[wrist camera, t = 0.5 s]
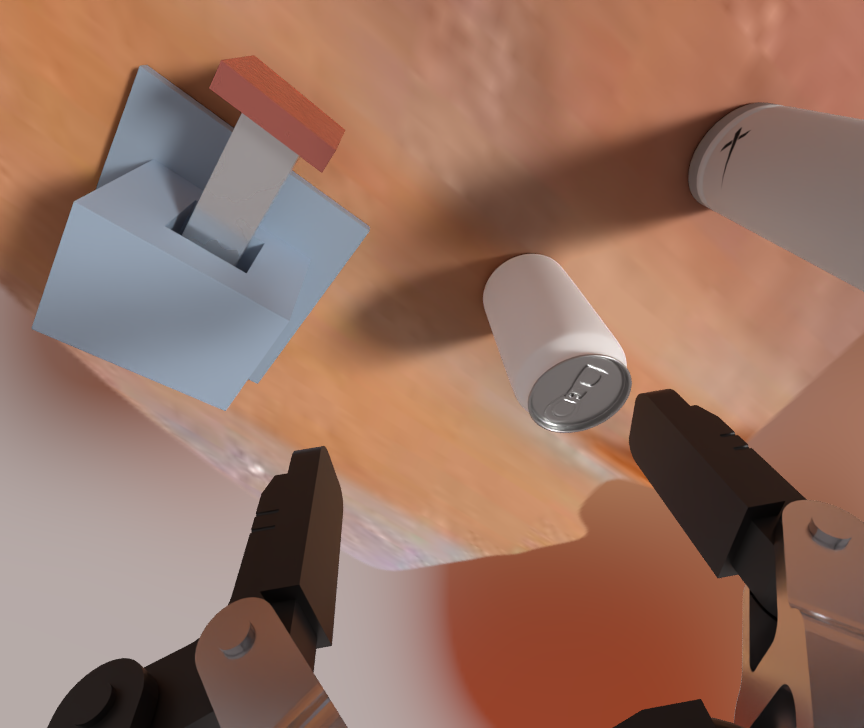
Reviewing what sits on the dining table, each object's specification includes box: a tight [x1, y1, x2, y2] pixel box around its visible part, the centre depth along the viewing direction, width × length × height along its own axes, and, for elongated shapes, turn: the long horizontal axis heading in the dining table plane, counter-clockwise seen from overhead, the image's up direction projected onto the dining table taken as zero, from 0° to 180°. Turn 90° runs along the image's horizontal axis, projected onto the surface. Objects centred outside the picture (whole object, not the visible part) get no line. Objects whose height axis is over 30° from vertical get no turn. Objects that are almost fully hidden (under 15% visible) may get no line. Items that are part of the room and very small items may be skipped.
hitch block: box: [32, 65, 370, 411], centre depth 25 cm, size 16×14×9 cm
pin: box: [182, 55, 345, 267], centre depth 23 cm, size 13×5×5 cm, turn 141°
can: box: [483, 254, 632, 433], centre depth 28 cm, size 6×6×12 cm
